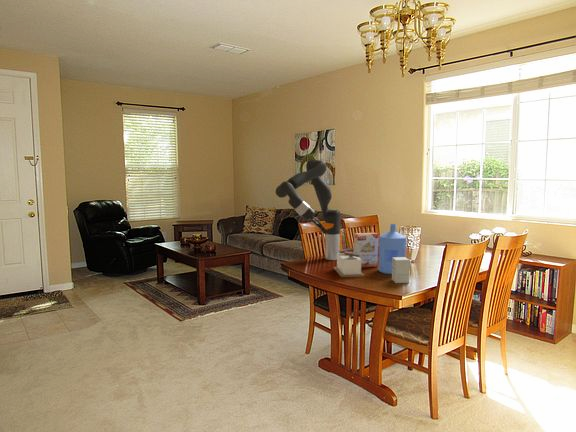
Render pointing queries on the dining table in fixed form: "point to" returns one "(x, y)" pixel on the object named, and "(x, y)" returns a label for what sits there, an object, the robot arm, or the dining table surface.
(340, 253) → the block
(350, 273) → the switch panel
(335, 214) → the robot arm
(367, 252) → the cracker box
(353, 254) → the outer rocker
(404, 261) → the supplement box
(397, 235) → the water jug
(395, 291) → the dining table surface
